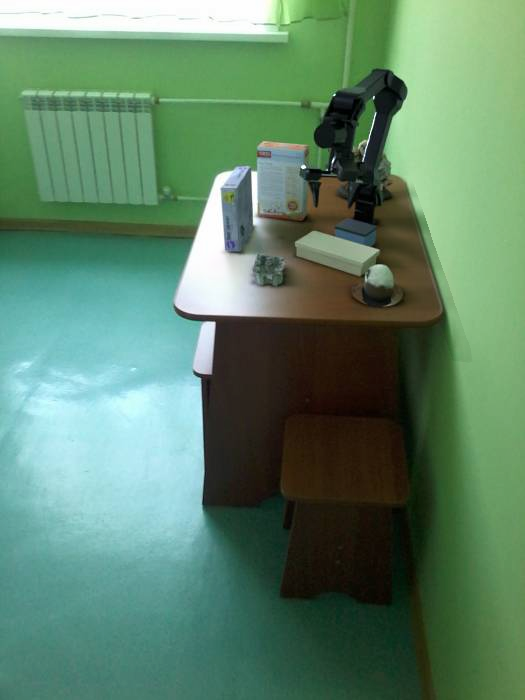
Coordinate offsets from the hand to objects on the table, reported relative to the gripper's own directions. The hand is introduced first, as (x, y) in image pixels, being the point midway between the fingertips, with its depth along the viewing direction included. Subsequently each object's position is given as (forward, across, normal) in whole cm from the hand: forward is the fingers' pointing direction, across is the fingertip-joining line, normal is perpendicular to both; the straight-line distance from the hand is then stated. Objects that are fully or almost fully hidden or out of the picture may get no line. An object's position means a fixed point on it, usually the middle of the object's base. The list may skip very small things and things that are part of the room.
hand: (332, 207), depth 161 cm
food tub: (+10, +9, +2) cm, 14 cm away
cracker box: (+9, -5, +26) cm, 28 cm away
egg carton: (+15, -18, -10) cm, 26 cm away
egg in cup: (+14, +4, -25) cm, 29 cm away
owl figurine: (+4, +24, +35) cm, 43 cm away
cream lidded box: (+12, +1, -6) cm, 13 cm away
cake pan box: (+13, -21, +14) cm, 28 cm away
